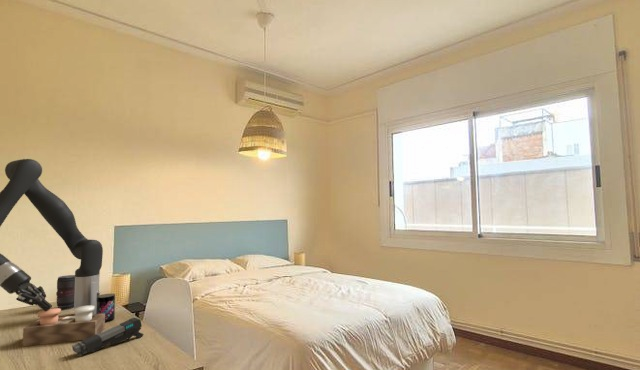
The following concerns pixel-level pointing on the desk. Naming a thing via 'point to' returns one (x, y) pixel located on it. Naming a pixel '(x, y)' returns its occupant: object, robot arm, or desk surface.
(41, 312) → the terracotta button
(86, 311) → the white button
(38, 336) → the console
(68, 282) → the camera lens
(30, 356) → the desk surface
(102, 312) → the supplement container
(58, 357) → the desk surface
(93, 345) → the gun
